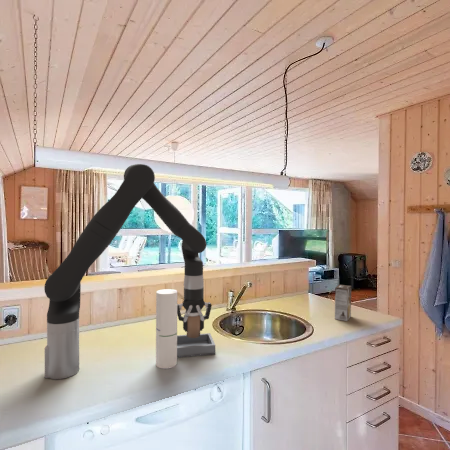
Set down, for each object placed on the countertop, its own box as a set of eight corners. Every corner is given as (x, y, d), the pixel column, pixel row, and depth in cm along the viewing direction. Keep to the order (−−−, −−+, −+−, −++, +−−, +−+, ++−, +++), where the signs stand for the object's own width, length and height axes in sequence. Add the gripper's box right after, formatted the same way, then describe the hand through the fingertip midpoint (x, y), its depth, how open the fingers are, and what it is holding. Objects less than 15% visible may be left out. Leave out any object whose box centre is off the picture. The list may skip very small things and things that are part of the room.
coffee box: (338, 314, 165) (338, 284, 164) (351, 316, 161) (351, 285, 161) (334, 319, 157) (334, 287, 156) (347, 321, 153) (348, 289, 153)
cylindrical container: (167, 356, 112) (168, 288, 112) (181, 362, 108) (181, 291, 107) (151, 364, 107) (151, 291, 106) (165, 370, 102) (165, 295, 102)
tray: (174, 357, 112) (174, 348, 112) (172, 344, 124) (172, 335, 123) (215, 354, 115) (215, 345, 115) (210, 341, 127) (210, 333, 127)
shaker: (187, 338, 116) (187, 314, 116) (186, 333, 121) (186, 310, 121) (201, 337, 117) (201, 313, 117) (199, 332, 122) (199, 309, 122)
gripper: (175, 289, 113) (175, 335, 114) (214, 287, 116) (213, 332, 117) (174, 284, 121) (174, 328, 121) (210, 283, 124) (210, 325, 124)
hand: (193, 330), depth 119 cm, fingers closed on shaker, 5 cm apart
